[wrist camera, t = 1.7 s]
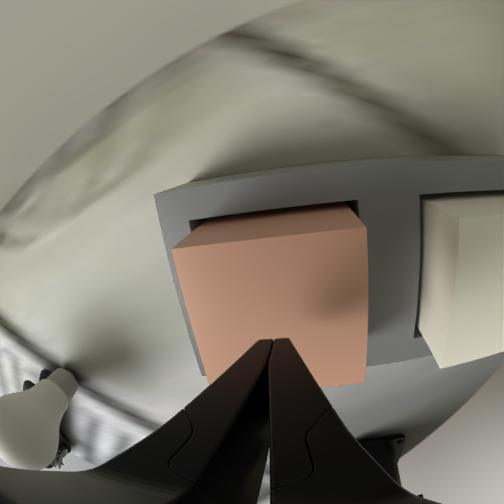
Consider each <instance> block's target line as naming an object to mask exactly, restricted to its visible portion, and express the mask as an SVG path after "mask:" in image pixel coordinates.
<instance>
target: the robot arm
mask: <svg viewBox="0 0 504 504" xmlns="http://www.w3.org/2000/svg"><path fill="white" fill-rule="evenodd" d="M184 409H185V410H184ZM184 409H182V410H181V411H180V412H178V413H177V414H176V415H175V416H174V417H172V418H171V419H170V420H169V421H167V422H166V423H165V424H164V425H162V426H161V427H160V428H159V429H157V430H156V431H154V432H153V433H151V434H150V435H149V436H147V437H146V438H144V439H143V440H141V441H140V442H138V443H136V444H135V445H133V446H132V447H130V448H129V449H127V450H125V451H124V452H122V453H120V454H119V455H117V456H116V457H114V458H112V459H111V460H109V461H107V462H106V463H104V464H102V465H100V466H98V467H95V468H93V469H89V470H86V471H78V472H60V471H39V470H27V469H17V468H8V467H2V466H0V504H257V500H258V496H259V492H260V488H261V483H262V479H263V474H264V470H265V465H266V461H267V456H268V451H269V447H270V490H271V492H270V504H441V503H437V502H434V501H431V500H427V499H424V498H423V494H421V495H418V496H416V495H414V494H412V493H410V492H409V491H407V490H406V489H404V488H403V487H402V486H401V481H400V476H399V470H398V465H397V463H398V460H399V458H400V455H401V452H402V449H403V446H404V443H405V436H404V435H403V434H399V435H394V436H389V437H383V438H377V439H371V440H364V441H357V440H356V439H355V438H354V436H353V435H352V434H351V433H350V432H349V430H348V429H347V427H346V426H345V425H344V423H343V422H342V420H341V419H340V418H339V416H338V414H337V413H336V411H335V410H334V408H332V405H331V404H330V402H329V401H328V399H327V397H326V396H325V394H324V393H323V391H322V390H321V388H320V386H319V385H318V383H317V382H316V380H315V378H314V377H313V375H312V374H311V372H310V370H309V369H308V367H307V366H306V364H305V362H304V361H303V359H302V358H301V356H300V354H299V353H298V351H297V350H296V348H295V346H294V345H293V343H292V342H291V340H290V339H289V338H276V339H274V340H273V339H260V340H258V341H257V342H256V343H254V344H253V345H252V346H251V347H250V348H249V349H248V350H247V351H246V352H245V353H244V354H243V355H242V356H241V357H240V358H239V359H238V360H237V361H236V362H234V363H233V364H232V365H231V366H230V367H229V368H228V369H227V370H226V371H225V372H224V373H223V374H221V375H220V376H219V377H218V378H217V379H216V380H215V381H214V382H213V383H212V384H210V385H209V386H208V387H207V388H206V389H205V390H204V391H203V392H201V393H200V394H199V395H198V396H197V397H196V398H195V399H194V400H192V401H191V402H190V403H189V404H188V405H187V406H186V407H185V408H184Z"/></svg>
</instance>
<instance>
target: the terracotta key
mask: <svg viewBox="0 0 504 504" xmlns="http://www.w3.org/2000/svg"><path fill="white" fill-rule="evenodd" d="M171 250H172V254H173V258H174V262H175V266H176V270H177V274H178V278H179V282H180V286H181V290H182V294H183V297H184V301H185V305H186V308H187V312H188V316H189V319H190V323H191V326H192V330H193V333H194V336H195V340H196V343H197V347H198V350H199V353H200V356H201V360H202V363H203V366H204V369H205V372H206V375H207V378H208V382H209V385H210V384H212V383H213V382H214V381H215V380H216V379H217V378H218V377H219V376H220V375H221V374H223V373H224V372H225V371H226V370H227V369H228V368H229V367H230V366H231V365H232V364H233V363H234V362H236V361H237V360H238V359H239V358H240V357H241V356H242V355H243V354H244V353H245V352H246V351H247V350H248V349H249V348H250V347H251V346H252V345H253V344H254V343H256V342H257V341H258V340H260V339H273V340H274V339H276V338H289V339H290V340H291V342H292V343H293V345H294V346H295V348H296V350H297V351H298V353H299V354H300V356H301V358H302V359H303V361H304V362H305V364H306V366H307V367H308V369H309V370H310V372H311V374H312V375H313V377H314V378H315V380H316V382H317V383H318V385H319V386H320V388H321V387H331V386H341V385H349V384H357V383H365V372H366V357H367V337H368V249H367V228H366V226H365V225H364V224H363V222H362V221H361V220H360V219H359V218H358V217H357V216H356V214H355V213H354V212H353V211H352V210H351V209H350V208H349V207H348V205H347V204H346V203H345V202H344V201H340V202H330V203H320V204H311V205H302V206H294V207H285V208H277V209H269V210H261V211H253V212H245V213H238V214H230V215H223V216H216V217H209V218H208V219H207V220H206V221H204V222H203V223H202V224H201V225H200V226H198V227H197V228H196V229H195V230H193V231H192V232H191V233H190V234H189V235H187V236H186V237H185V238H184V239H183V240H182V241H180V242H179V243H178V244H177V245H176V246H174V247H173V248H172V249H171Z"/></svg>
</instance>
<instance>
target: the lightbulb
mask: <svg viewBox="0 0 504 504" xmlns="http://www.w3.org/2000/svg"><path fill="white" fill-rule="evenodd" d="M77 389H78V383H77V381H76V379H75V376H74V375H73V373H72V372H70V371H67V370H65V369H63V368H57V369H56V370H55V371H54V372H53V373H51V375H50V376H48V377H47V378H46V379H42V380H40V381H39V382H38V383H37V384H36V385H35V386H33V387H32V388H30V389H28V390H25V391H23V392H17V393H12V394H8V395H3V396H1V397H0V457H1V459H3V460H4V461H5V462H6V463H8V464H9V465H11V466H13V467H15V468H17V469H27V470H41V469H43V468H45V467H47V466H48V465H49V464H50V463H52V461H53V460H54V458H55V456H56V453H57V450H58V443H59V427H60V422H61V419H62V417H63V415H64V413H65V411H66V410H67V408H68V406H69V401H70V399H71V398H72V397H73V395H74V394H75V392H76V391H77Z"/></svg>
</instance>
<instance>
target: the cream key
mask: <svg viewBox="0 0 504 504" xmlns="http://www.w3.org/2000/svg"><path fill="white" fill-rule="evenodd" d="M419 197H420V270H419V287H418V301H417V312H416V321H415V324H416V325H417V327H418V329H419V331H420V332H421V334H422V336H423V338H424V339H425V341H426V343H427V345H428V347H429V348H430V350H431V352H432V354H433V356H434V358H435V360H436V362H437V363H438V365H439V367H440V369H441V368H446V367H450V366H454V365H458V364H462V363H465V362H469V361H473V360H476V359H480V358H483V357H487V356H490V355H493V354H497V353H500V352H503V351H504V190H487V191H467V192H449V193H434V194H420V195H419Z"/></svg>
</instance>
